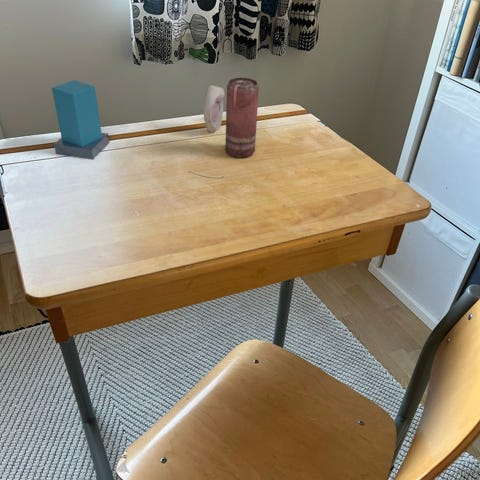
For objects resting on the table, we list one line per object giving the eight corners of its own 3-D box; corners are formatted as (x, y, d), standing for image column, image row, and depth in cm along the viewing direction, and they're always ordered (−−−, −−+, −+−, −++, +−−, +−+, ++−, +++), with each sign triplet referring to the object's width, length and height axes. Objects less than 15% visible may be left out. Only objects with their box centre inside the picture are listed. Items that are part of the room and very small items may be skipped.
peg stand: (55, 153, 102) (44, 102, 95) (73, 137, 108) (65, 88, 101) (93, 159, 101) (85, 108, 94) (109, 142, 107) (102, 93, 100)
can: (220, 156, 105) (222, 84, 95) (230, 144, 109) (233, 74, 100) (249, 161, 103) (253, 89, 94) (258, 149, 108) (262, 79, 98)
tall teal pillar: (82, 130, 106) (73, 79, 99) (102, 137, 104) (94, 86, 97) (61, 139, 103) (51, 87, 96) (81, 147, 100) (72, 94, 94)
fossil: (211, 139, 111) (211, 91, 104) (198, 134, 112) (197, 87, 105) (226, 130, 114) (227, 83, 107) (213, 126, 116) (213, 79, 109)
